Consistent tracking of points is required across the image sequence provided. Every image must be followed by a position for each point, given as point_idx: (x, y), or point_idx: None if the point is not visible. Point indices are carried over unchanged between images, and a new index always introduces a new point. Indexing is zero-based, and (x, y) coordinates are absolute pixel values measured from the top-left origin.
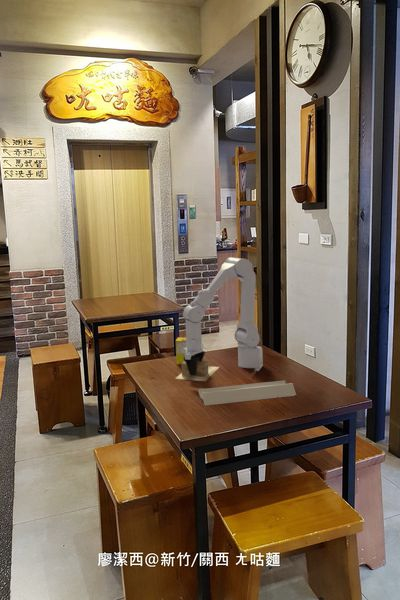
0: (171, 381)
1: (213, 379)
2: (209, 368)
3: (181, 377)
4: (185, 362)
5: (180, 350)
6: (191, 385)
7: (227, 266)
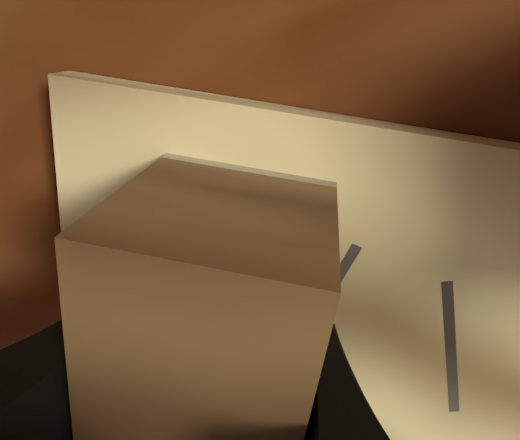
0: (46, 21)
1: None
2: (497, 431)
3: (110, 159)
4: (130, 312)
5: None
6: (12, 279)
7: None
